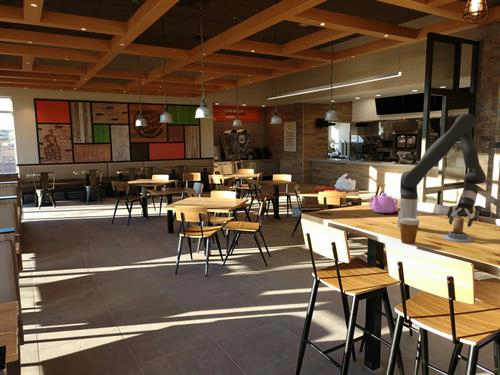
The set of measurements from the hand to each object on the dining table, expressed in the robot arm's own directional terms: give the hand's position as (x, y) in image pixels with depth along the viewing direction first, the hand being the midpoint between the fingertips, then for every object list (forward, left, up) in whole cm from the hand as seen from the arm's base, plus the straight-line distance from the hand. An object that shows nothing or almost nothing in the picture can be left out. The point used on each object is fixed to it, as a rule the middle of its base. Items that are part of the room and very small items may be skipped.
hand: (459, 224), depth 202 cm
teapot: (-12, +77, -8) cm, 78 cm away
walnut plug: (-1, -1, -6) cm, 7 cm away
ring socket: (-1, -1, -7) cm, 7 cm away
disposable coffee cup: (-30, -8, -7) cm, 32 cm away
